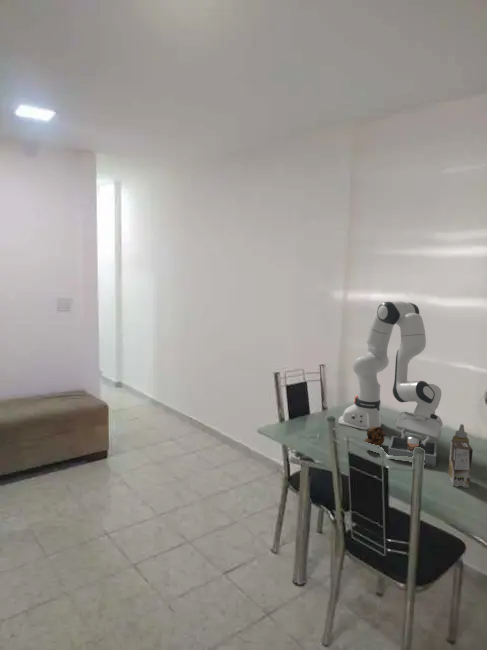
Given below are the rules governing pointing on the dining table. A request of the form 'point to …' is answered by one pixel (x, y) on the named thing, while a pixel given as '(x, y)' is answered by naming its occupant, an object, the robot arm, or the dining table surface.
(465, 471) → the coffee box
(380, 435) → the wooden carving
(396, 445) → the box
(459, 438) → the squeeze bottle
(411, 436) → the grey capped jar
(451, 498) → the dining table surface
